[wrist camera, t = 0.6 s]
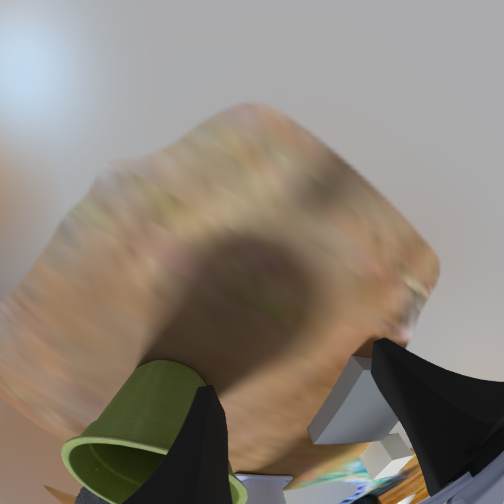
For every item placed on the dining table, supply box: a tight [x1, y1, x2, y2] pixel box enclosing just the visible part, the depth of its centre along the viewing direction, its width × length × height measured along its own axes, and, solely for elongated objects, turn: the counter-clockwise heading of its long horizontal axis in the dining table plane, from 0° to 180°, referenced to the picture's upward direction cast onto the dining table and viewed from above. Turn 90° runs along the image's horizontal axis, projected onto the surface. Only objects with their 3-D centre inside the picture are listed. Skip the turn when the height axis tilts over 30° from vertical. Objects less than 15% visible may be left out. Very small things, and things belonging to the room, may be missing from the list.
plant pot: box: [61, 360, 248, 504], centre depth 16 cm, size 12×12×11 cm
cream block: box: [359, 433, 414, 480], centre depth 25 cm, size 4×4×5 cm
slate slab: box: [307, 355, 399, 444], centre depth 23 cm, size 10×10×3 cm
